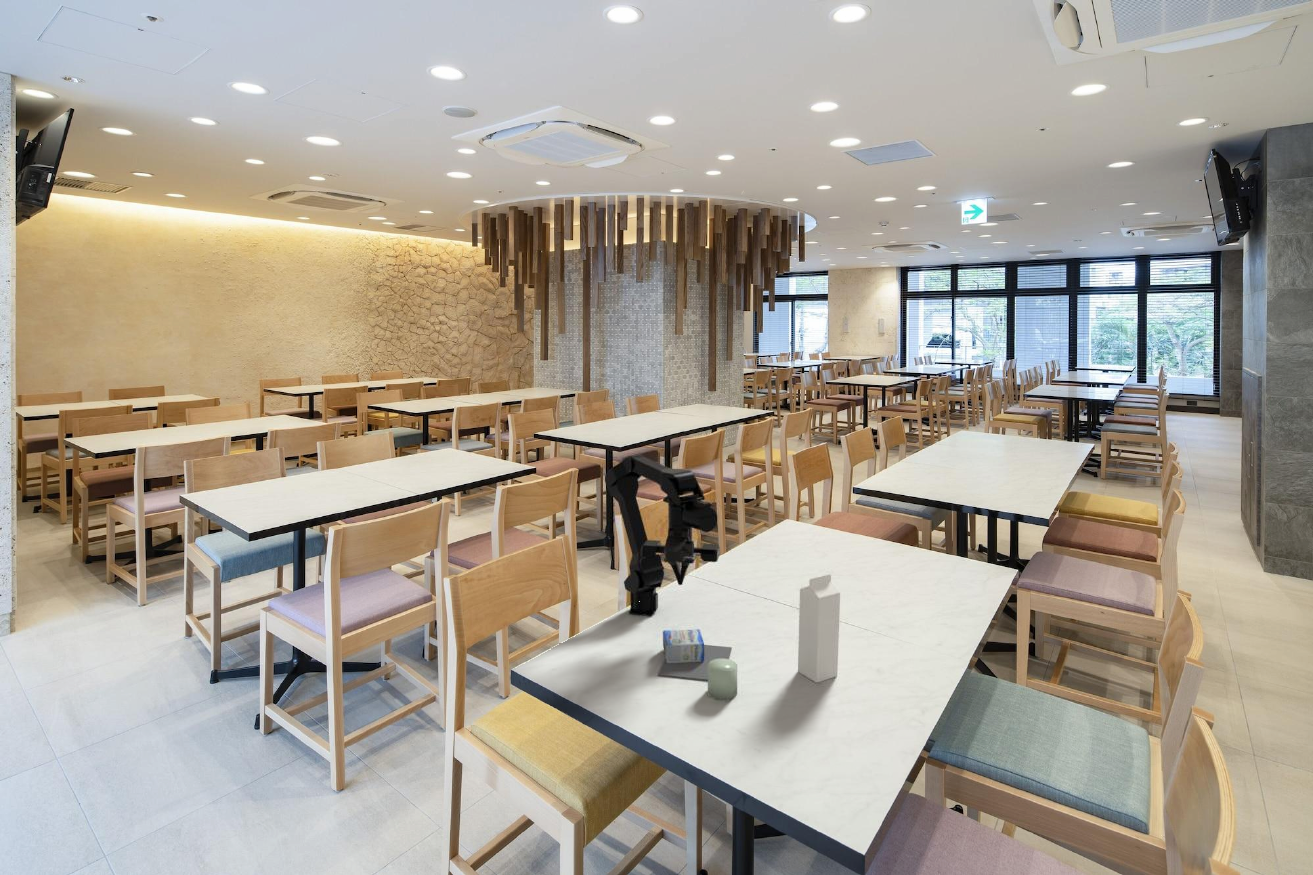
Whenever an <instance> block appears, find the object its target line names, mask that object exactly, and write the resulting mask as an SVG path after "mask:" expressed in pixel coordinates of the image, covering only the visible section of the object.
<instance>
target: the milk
mask: <svg viewBox="0 0 1313 875" xmlns="http://www.w3.org/2000/svg"><path fill="white" fill-rule="evenodd" d="M840 606H841V592H840V591H839V589H838V588H837V586H836V585H835V584H834V583H833V581H832V574H830V573H829V574H825V575H820V576H816V577H812V578H809V583H808V585H807V586H805V587H802V588H799V609H798V610H799V612H798V613H799V614H798V615H799V616H798V619H799V620H798V646H797V647H798V650H797V651H798V653H797V655H798V656H797V672H799V673H800V674H801V675H803V676H804V677H806V678H808V679H810V680H811V681H813V682H814V683H815V684H818V683H820V682H824V681H827V680H830V679H833V678H835V677H838V669H839V668H838V666H839V641H840V640H839V638H840V635H839V634H840V633H839V632H840V614H841V613H840V612H841V609H840V608H841V607H840Z"/></svg>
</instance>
